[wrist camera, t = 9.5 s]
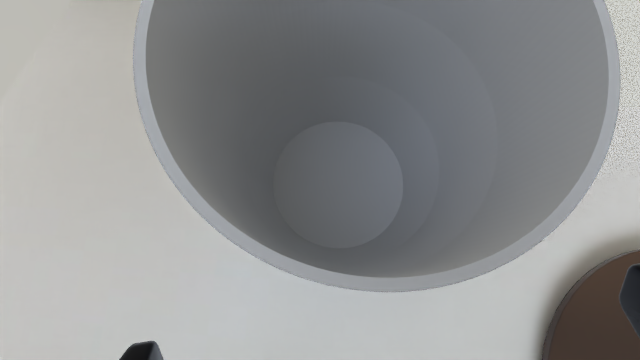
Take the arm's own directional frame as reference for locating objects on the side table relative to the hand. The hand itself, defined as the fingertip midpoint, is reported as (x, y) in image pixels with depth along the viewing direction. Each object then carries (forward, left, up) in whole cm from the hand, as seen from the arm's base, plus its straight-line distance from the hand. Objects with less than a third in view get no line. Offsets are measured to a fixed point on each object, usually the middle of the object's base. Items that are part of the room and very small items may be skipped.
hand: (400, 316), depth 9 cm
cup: (+4, +2, -8) cm, 9 cm away
